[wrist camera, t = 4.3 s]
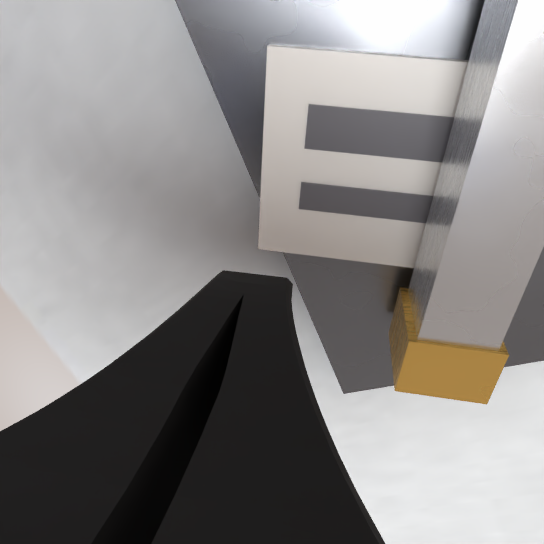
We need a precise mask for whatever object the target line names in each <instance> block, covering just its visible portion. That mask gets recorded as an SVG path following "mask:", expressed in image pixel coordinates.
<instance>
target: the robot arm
mask: <svg viewBox="0 0 544 544" xmlns="http://www.w3.org/2000/svg"><path fill="white" fill-rule="evenodd" d="M292 286H293V284H292V283H291V282H290V281H289V279H288V278H283V277H275V276H266V275H258V274H249V273H241V272H232V271H224V270H223V271H222V272H221V273H219V274H218V275H217V276H216V277H214V278H213V279H212V280H211V281H210V282H209V283H208V284H207V285H206V286H205V287H203V288H202V289H201V290H200V291H199V292H198V293H197V294H196V295H195V296H194V297H192V298H191V299H190V300H189V301H188V302H187V303H186V304H185V305H183V306H182V307H181V308H180V309H179V310H178V311H177V312H175V313H174V314H173V315H172V316H171V317H169V318H168V319H167V320H166V321H165V322H163V323H162V324H161V325H160V326H159V327H158V328H156V329H155V330H154V331H153V332H152V333H150V334H149V335H148V336H147V337H145V338H144V339H143V340H141V341H140V342H139V343H137V344H136V345H135V346H133V347H132V348H131V349H129V350H128V351H127V352H125V353H124V354H123V355H122V356H120V357H119V358H118V359H116V360H115V361H114V362H112V363H111V364H110V365H108V366H107V367H105V368H104V369H103V370H101V371H100V372H98V373H97V374H95V375H94V376H92V377H91V378H90V379H88V380H87V381H85V382H84V383H82V384H81V385H79V386H77V387H76V388H74V389H73V390H71V391H70V392H68V393H67V394H65V395H63V396H62V397H60V398H58V399H57V400H55V401H54V402H52V403H50V404H49V405H47V406H45V407H44V408H42V409H40V410H39V411H37V412H35V413H33V414H32V415H29V416H28V417H26V418H24V419H23V420H20V421H19V422H17V423H15V424H13V425H11V426H10V427H8V428H6V429H4V430H2V431H0V544H385V542H384V541H383V539H382V537H381V535H380V533H379V531H378V530H377V528H376V526H375V524H374V522H373V520H372V519H371V517H370V515H369V513H368V511H367V509H366V508H365V506H364V504H363V502H362V500H361V498H360V497H359V495H358V493H357V491H356V489H355V487H354V485H353V483H352V481H351V479H350V477H349V475H348V472H347V470H346V468H345V466H344V464H343V462H342V460H341V458H340V456H339V454H338V451H337V449H336V447H335V445H334V442H333V440H332V438H331V435H330V433H329V431H328V428H327V426H326V424H325V421H324V419H323V416H322V414H321V411H320V408H319V406H318V403H317V401H316V398H315V395H314V392H313V389H312V386H311V383H310V380H309V378H308V375H307V371H306V368H305V365H304V361H303V358H302V354H301V350H300V346H299V342H298V338H297V334H296V330H295V325H294V319H293V312H292V303H291V298H292Z"/></svg>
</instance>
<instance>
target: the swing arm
mask: <svg viewBox="0 0 544 544" xmlns="http://www.w3.org/2000/svg"><path fill="white" fill-rule="evenodd" d="M543 247H544V0H485V1H484V5H483V9H482V13H481V16H480V20H479V24H478V28H477V32H476V35H475V39H474V43H473V47H472V50H471V54H470V58H469V62H468V66H467V69H466V73H465V77H464V81H463V85H462V88H461V92H460V96H459V100H458V104H457V107H456V111H455V115H454V119H453V122H452V126H451V130H450V134H449V138H448V141H447V145H446V149H445V153H444V157H443V160H442V164H441V168H440V172H439V176H438V179H437V183H436V187H435V191H434V194H433V198H432V202H431V206H430V210H429V213H428V217H427V221H426V225H425V229H424V232H423V236H422V240H421V244H420V247H419V251H418V255H417V259H416V263H415V266H414V270H413V274H412V278H411V282H410V285H409V288H401V287H400V290H399V294H398V298H397V302H396V306H395V310H394V314H393V318H392V322H391V326H390V330H389V342H390V351H391V360H392V370H393V379H394V388H395V391H399V392H406V393H413V394H420V395H427V396H433V397H440V398H447V399H454V400H461V401H468V402H475V403H482V404H487V403H488V401H489V399H490V396H491V394H492V392H493V390H494V388H495V385H496V383H497V381H498V379H499V376H500V374H501V372H502V370H503V368H504V365H505V363H506V361H507V359H508V357H509V354H508V351H507V349H506V347H505V344H504V342H503V340H504V337H505V335H506V333H507V330H508V328H509V326H510V323H511V321H512V319H513V316H514V314H515V312H516V309H517V307H518V305H519V303H520V300H521V298H522V296H523V293H524V291H525V289H526V286H527V284H528V282H529V279H530V277H531V275H532V272H533V270H534V268H535V265H536V263H537V261H538V258H539V256H540V254H541V251H542V249H543Z"/></svg>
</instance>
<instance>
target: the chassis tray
mask: <svg viewBox="0 0 544 544" xmlns="http://www.w3.org/2000/svg"><path fill="white" fill-rule="evenodd" d="M175 1H176V3H177V6H178V8H179V10H180V13H181V15H182V17H183V20H184V22H185V24H186V27H187V29H188V31H189V34H190V36H191V38H192V41H193V43H194V45H195V48H196V50H197V52H198V55H199V57H200V59H201V62H202V64H203V66H204V69H205V71H206V73H207V76H208V78H209V80H210V83H211V85H212V87H213V90H214V92H215V94H216V97H217V99H218V101H219V104H220V106H221V108H222V111H223V113H224V115H225V118H226V120H227V122H228V125H229V127H230V129H231V132H232V134H233V136H234V139H235V141H236V144H237V146H238V148H239V151H240V153H241V155H242V158H243V160H244V162H245V165H246V167H247V169H248V172H249V174H250V176H251V179H252V181H253V183H254V186H255V188H256V190H257V193H258V195H259V197H260V193H261V171H262V149H263V127H264V105H265V83H266V62H267V46H268V45H269V44H271V45H283V46H296V47H308V48H320V49H333V50H345V51H357V52H370V53H382V54H395V55H407V56H419V57H432V58H444V59H456V60H469V58H470V54H471V50H472V47H473V43H474V39H475V35H476V32H477V28H478V24H479V20H480V16H481V13H482V9H483V5H484V1H485V0H175ZM283 253H284V256H285V258H286V260H287V263H288V265H289V267H290V270H291V272H292V274H293V277H294V279H295V281H296V284H297V286H298V288H299V291H300V293H301V295H302V298H303V300H304V302H305V305H306V307H307V309H308V312H309V314H310V316H311V319H312V321H313V323H314V326H315V328H316V330H317V333H318V335H319V337H320V340H321V342H322V344H323V347H324V349H325V351H326V354H327V356H328V358H329V361H330V363H331V365H332V368H333V370H334V372H335V375H336V377H337V379H338V382H339V384H340V386H341V389H342V391H343V393H344V394H345V393H351V392H357V391H363V390H369V389H375V388H381V387H387V386H393V385H394V379H393V370H392V360H391V351H390V342H389V330H390V326H391V322H392V318H393V314H394V310H395V306H396V302H397V298H398V294H399V290H400V287H401V288H409V285H410V282H411V278H412V274H413V270H414V268H409V267H401V266H393V265H384V264H376V263H368V262H359V261H351V260H343V259H335V258H326V257H318V256H310V255H302V254H293V253H285V252H283ZM503 342H504V344H505V347H506V349H507V351H508V354H509V357H508V359H507V361H506V363H505V365H504V367H508V366H514V365H520V364H526V363H532V362H538V361H544V247H543V249H542V251H541V254H540V256H539V258H538V261H537V263H536V265H535V268H534V270H533V272H532V275H531V277H530V279H529V282H528V284H527V286H526V289H525V291H524V293H523V296H522V298H521V300H520V303H519V305H518V307H517V309H516V312H515V314H514V316H513V319H512V321H511V323H510V326H509V328H508V330H507V333H506V335H505V337H504V340H503Z"/></svg>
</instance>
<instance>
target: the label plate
mask: <svg viewBox="0 0 544 544" xmlns="http://www.w3.org/2000/svg"><path fill="white" fill-rule="evenodd" d="M468 62H469V60H456V59H444V58H432V57H419V56H407V55H395V54H382V53H370V52H357V51H345V50H333V49H320V48H308V47H296V46H283V45H271V44H269V45H268V46H267V62H266V83H265V105H264V127H263V149H262V171H261V193H260V215H259V237H258V249H260V250H268V251H277V252H285V253H293V254H302V255H310V256H318V257H326V258H335V259H343V260H351V261H359V262H368V263H376V264H384V265H393V266H401V267H409V268H414V266H415V263H416V259H417V255H418V251H419V247H420V244H421V240H422V236H423V232H424V229H425V225H426V221H427V217H428V213H429V210H430V206H431V202H432V198H433V194H434V191H435V187H436V183H437V179H438V176H439V172H440V168H441V164H442V160H443V157H444V153H445V149H446V145H447V141H448V138H449V134H450V130H451V126H452V122H453V119H454V115H455V111H456V107H457V104H458V100H459V96H460V92H461V88H462V85H463V81H464V77H465V73H466V69H467V66H468Z"/></svg>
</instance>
